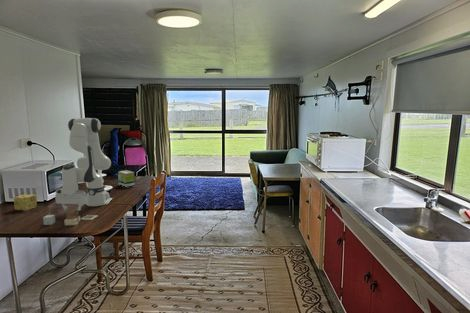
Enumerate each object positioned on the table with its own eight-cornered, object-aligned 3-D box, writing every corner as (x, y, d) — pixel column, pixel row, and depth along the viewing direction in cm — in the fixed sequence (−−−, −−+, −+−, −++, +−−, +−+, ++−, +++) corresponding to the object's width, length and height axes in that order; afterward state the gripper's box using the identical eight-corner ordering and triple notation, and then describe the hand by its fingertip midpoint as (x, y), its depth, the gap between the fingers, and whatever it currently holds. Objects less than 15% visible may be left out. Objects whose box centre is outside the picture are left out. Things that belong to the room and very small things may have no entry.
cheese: (26, 211, 219) (24, 198, 218) (13, 210, 221) (12, 197, 220) (37, 206, 229) (36, 194, 228) (25, 206, 231) (24, 193, 230)
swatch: (87, 215, 210) (87, 214, 210) (98, 216, 209) (98, 214, 209) (80, 219, 202) (80, 218, 202) (91, 219, 202) (91, 218, 201)
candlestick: (92, 188, 288) (90, 160, 284) (116, 188, 286) (115, 160, 282) (79, 193, 268) (77, 163, 264) (105, 194, 266) (104, 164, 262)
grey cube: (47, 222, 197) (46, 215, 196) (55, 221, 198) (54, 214, 197) (43, 225, 192) (43, 217, 191) (52, 224, 193) (51, 217, 192)
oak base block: (69, 221, 199) (69, 216, 198) (80, 221, 199) (80, 215, 199) (64, 225, 192) (64, 219, 191) (76, 225, 192) (75, 219, 192)
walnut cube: (71, 216, 198) (71, 209, 197) (78, 216, 197) (78, 209, 196) (66, 218, 193) (66, 211, 192) (73, 219, 192) (73, 211, 192)
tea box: (118, 185, 300) (117, 171, 298) (127, 183, 308) (126, 169, 306) (125, 187, 290) (125, 173, 288) (135, 186, 298) (134, 171, 296)
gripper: (88, 189, 195) (89, 209, 197) (59, 188, 196) (61, 207, 199) (82, 191, 189) (84, 212, 191) (52, 190, 190) (54, 211, 193)
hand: (72, 210), depth 195 cm, fingers open, 8 cm apart
